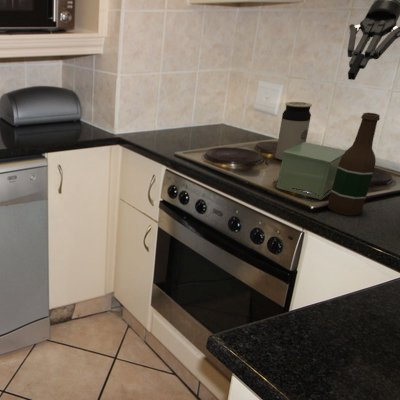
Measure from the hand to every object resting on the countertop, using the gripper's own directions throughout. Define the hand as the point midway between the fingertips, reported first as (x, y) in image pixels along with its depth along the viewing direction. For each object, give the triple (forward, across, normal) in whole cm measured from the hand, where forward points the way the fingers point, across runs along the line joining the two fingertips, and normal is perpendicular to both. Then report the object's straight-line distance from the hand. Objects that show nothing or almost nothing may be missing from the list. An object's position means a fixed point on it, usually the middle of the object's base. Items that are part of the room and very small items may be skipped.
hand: (351, 76), depth 127 cm
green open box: (+29, +1, -13) cm, 31 cm away
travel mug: (+12, +15, -29) cm, 35 cm away
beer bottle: (+35, -11, -7) cm, 38 cm away
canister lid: (+22, +1, -6) cm, 23 cm away
